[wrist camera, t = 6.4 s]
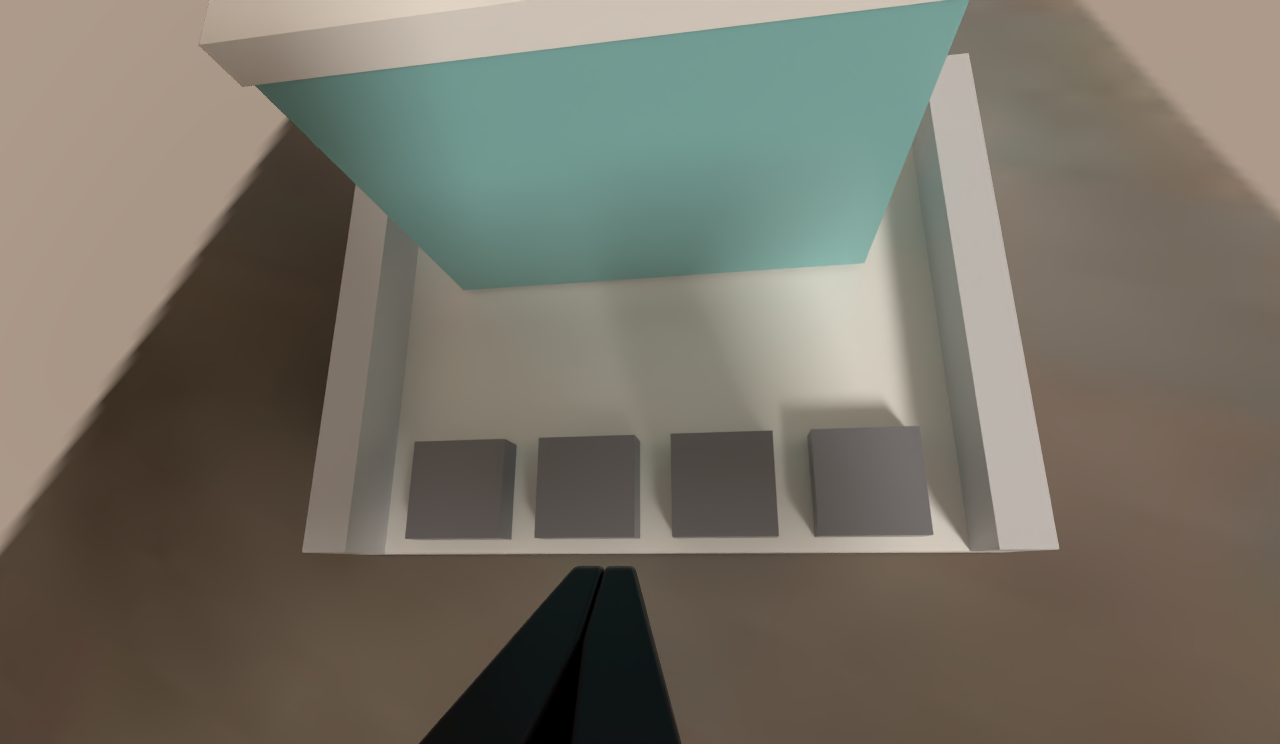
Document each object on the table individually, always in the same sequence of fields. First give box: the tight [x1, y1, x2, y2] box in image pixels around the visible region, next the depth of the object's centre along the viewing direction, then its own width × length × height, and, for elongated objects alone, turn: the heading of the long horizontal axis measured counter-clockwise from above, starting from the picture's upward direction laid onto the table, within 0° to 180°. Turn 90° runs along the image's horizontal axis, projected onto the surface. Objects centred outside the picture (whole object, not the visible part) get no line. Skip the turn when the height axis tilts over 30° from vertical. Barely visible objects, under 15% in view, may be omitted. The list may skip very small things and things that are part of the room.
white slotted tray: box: [302, 53, 1059, 555], centre depth 16 cm, size 11×15×3 cm
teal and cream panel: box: [199, 0, 969, 290], centre depth 12 cm, size 3×10×8 cm, turn 90°
